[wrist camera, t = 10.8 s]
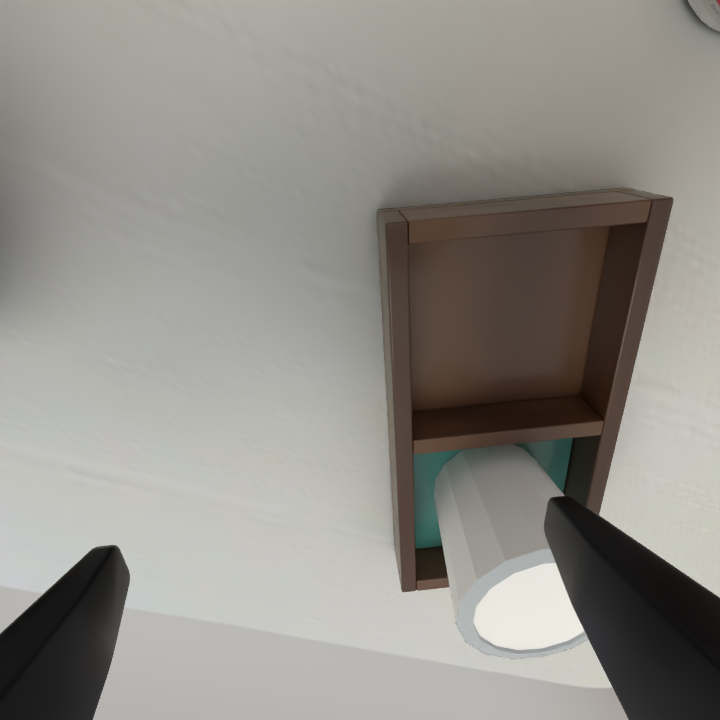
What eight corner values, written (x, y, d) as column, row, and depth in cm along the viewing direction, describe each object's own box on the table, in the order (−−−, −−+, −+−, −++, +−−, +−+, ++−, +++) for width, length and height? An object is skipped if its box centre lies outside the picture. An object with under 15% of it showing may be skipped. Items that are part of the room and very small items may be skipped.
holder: (394, 549, 27) (401, 593, 24) (376, 209, 18) (385, 223, 15) (562, 531, 27) (586, 571, 25) (627, 187, 18) (675, 197, 16)
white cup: (550, 517, 25) (624, 645, 19) (430, 541, 25) (464, 675, 19) (551, 418, 22) (639, 533, 16) (413, 446, 22) (447, 570, 16)
